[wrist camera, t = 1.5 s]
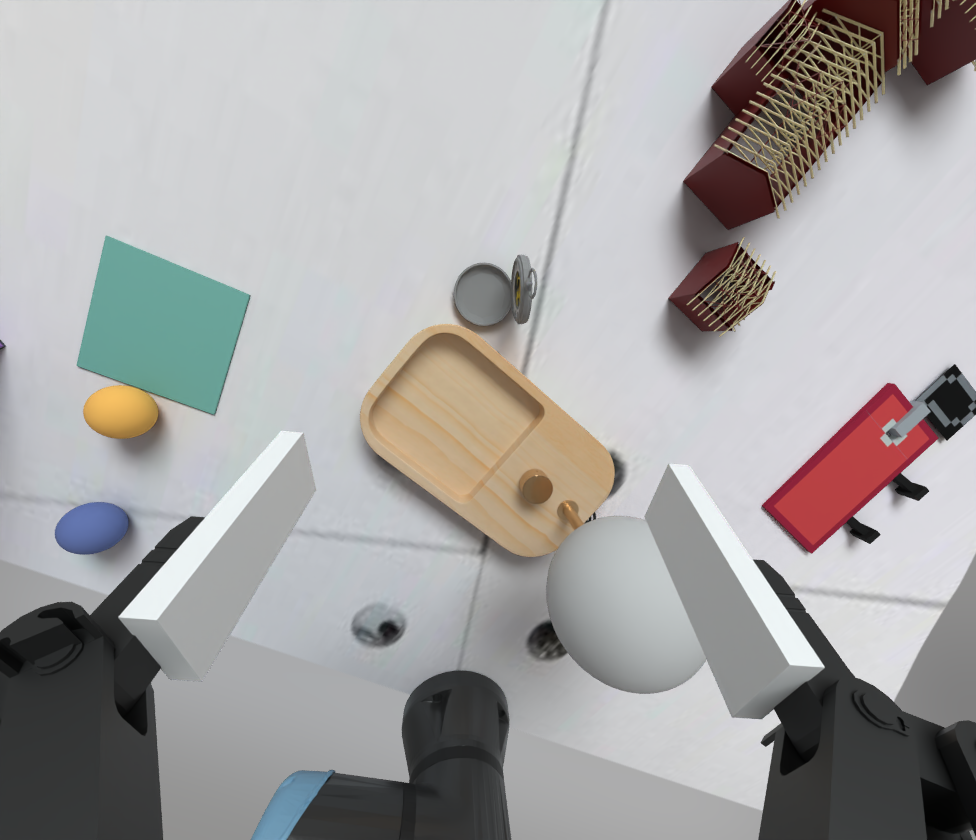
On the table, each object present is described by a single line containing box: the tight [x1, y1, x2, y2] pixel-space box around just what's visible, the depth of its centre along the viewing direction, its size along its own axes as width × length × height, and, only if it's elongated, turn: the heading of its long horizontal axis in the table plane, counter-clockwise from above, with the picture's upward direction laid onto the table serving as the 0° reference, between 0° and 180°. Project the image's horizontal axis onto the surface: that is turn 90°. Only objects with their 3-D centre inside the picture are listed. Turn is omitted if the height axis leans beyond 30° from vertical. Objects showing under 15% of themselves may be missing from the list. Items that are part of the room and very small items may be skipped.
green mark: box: [77, 236, 250, 414], centre depth 39 cm, size 14×14×1 cm
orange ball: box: [83, 385, 158, 439], centre depth 38 cm, size 6×6×6 cm
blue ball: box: [55, 502, 128, 554], centre depth 41 cm, size 6×6×6 cm
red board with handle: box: [762, 364, 976, 553], centre depth 50 cm, size 30×3×15 cm
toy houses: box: [668, 0, 976, 336], centre depth 36 cm, size 45×20×10 cm, turn 142°
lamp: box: [360, 324, 706, 694], centre depth 34 cm, size 33×17×25 cm, turn 49°
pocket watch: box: [454, 255, 537, 326], centre depth 37 cm, size 8×8×10 cm
